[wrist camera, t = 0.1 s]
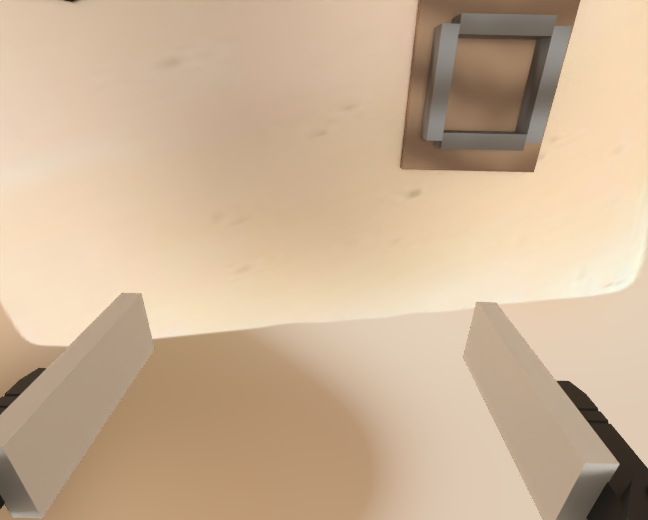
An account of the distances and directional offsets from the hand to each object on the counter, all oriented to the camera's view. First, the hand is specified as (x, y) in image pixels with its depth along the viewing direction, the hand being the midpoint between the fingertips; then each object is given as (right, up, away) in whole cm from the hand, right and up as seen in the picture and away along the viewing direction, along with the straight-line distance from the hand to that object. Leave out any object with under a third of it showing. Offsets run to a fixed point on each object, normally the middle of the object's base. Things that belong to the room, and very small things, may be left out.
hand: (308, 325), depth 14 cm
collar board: (+16, +20, +21) cm, 33 cm away
